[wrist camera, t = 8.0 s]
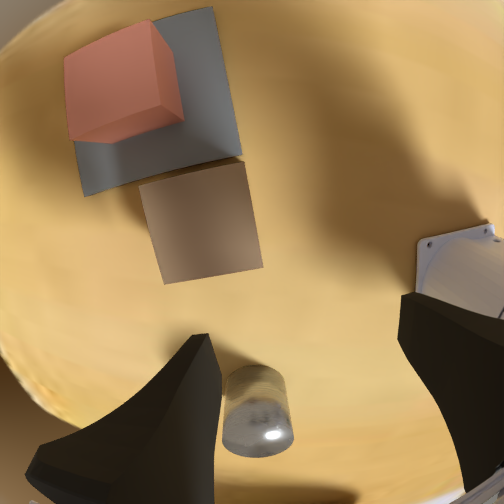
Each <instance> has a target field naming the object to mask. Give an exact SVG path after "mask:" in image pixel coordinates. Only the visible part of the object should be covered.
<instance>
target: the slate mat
mask: <svg viewBox="0 0 504 504" xmlns="http://www.w3.org/2000/svg"><path fill="white" fill-rule="evenodd" d="M152 23H153V25H154V26H155V27H156V29H157V30H158V32H159V33H160V34H161V36H162V37H163V39H164V40H165V42H166V43H167V44H168V46H169V47H170V49H171V50H172V52H173V55H174V62H175V68H176V74H177V80H178V86H179V92H180V97H181V103H182V109H183V114H184V120H185V121H183V122H180V123H176V124H172V125H169V126H165V127H162V128H159V129H155V130H152V131H149V132H146V133H142V134H139V135H136V136H133V137H130V138H128V139H125V140H122V141H119V142H116V143H114V144H108V143H97V142H86V141H74V144H75V151H76V157H77V163H78V168H79V174H80V179H81V184H82V188H83V193H84V197H87V196H90V195H93V194H96V193H98V192H101V191H104V190H107V189H111V188H114V187H117V186H120V185H123V184H126V183H130V182H133V181H136V180H140V179H143V178H147V177H150V176H154V175H157V174H161V173H165V172H169V171H172V170H176V169H180V168H184V167H188V166H193V165H197V164H201V163H206V162H210V161H215V160H219V159H224V158H229V157H234V156H239V155H242V150H241V145H240V139H239V134H238V129H237V124H236V119H235V114H234V109H233V104H232V99H231V94H230V89H229V84H228V79H227V75H226V70H225V65H224V60H223V55H222V50H221V45H220V41H219V36H218V31H217V26H216V22H215V17H214V12H213V7H212V6H211V7H206V8H202V9H197V10H193V11H189V12H185V13H181V14H177V15H174V16H170V17H167V18H163V19H160V20H157V21H154V22H152Z"/></svg>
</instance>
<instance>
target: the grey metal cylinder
mask: <svg viewBox="0 0 504 504" xmlns="http://www.w3.org/2000/svg"><path fill="white" fill-rule="evenodd" d="M293 440H294V435H293V429H292V423H291V417H290V411H289V405H288V399H287V393H286V387H285V381H284V378H283V377H282V375H281V374H280V373H279V372H278V371H276V370H275V369H273V368H270V367H267V366H261V365H252V366H246V367H243V368H240V369H238V370H236V371H234V372H233V373H232V374H231V375H230V376H229V377H228V379H227V382H226V391H225V405H224V420H223V435H222V443H223V445H224V447H225V448H226V449H227V450H229V451H230V452H232V453H234V454H237V455H240V456H244V457H252V458H260V457H268V456H272V455H276V454H278V453H281V452H283V451H284V450H286V449H287V448H289V447H290V446H291V444H292V443H293Z"/></svg>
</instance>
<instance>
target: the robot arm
mask: <svg viewBox="0 0 504 504" xmlns="http://www.w3.org/2000/svg"><path fill="white" fill-rule="evenodd" d="M494 232H495V227H494V225H493V224H491V223H489V224H485V225H480V226H476V227H472V228H468V229H463V230H459V231H455V232H450V233H446V234H441V235H437V236H433V237H428V238H423V239H421V240H420V241H419V242H418V245H417V274H416V291H415V292H412V293H409V294H405V295H401V308H400V319H399V329H398V338H397V340H398V342H399V344H400V346H401V348H402V350H403V352H404V354H405V356H406V358H407V359H408V361H409V362H410V364H411V365H412V367H413V368H414V370H415V371H416V373H417V374H418V376H419V377H420V379H421V380H422V381H423V383H424V384H425V386H426V387H427V389H428V390H429V392H430V393H431V395H432V396H433V398H434V400H435V401H436V403H437V405H438V407H439V409H440V411H441V413H442V415H443V417H444V420H445V422H446V424H447V427H448V429H449V432H450V434H451V437H452V440H453V443H454V446H455V449H456V452H457V456H458V459H459V463H460V468H461V472H462V477H463V483H464V490H465V492H466V494H465V495H463V496H461V497H460V498H458V499H456V500H455V501H453V502H451V503H449V504H483V503H484V502H486V501H487V500H489V499H490V498H491V497H493V496H494V495H495V494H497V493H498V492H499V491H500V492H499V494H498V498H497V500H496V501H495V502H494V503H493V504H504V239H502V238H500V237H497V236H495V235H494ZM428 243H429V246H428V247H427V244H428ZM221 400H222V374H221V371H220V368H219V365H218V362H217V359H216V356H215V353H214V350H213V347H212V344H211V340H210V337H209V334H208V333H206V334H198V335H192V336H191V337H190V338H189V339H188V340H187V341H186V342H185V343H184V345H183V346H182V347H181V348H180V349H179V350H178V352H177V353H176V354H175V355H174V356H173V357H172V358H171V359H170V361H169V362H168V363H167V364H166V365H165V366H164V367H163V368H162V369H161V370H160V371H159V372H158V373H157V374H156V375H155V376H154V377H153V378H152V379H151V380H150V381H149V382H148V383H147V384H146V385H145V386H144V387H143V388H142V389H141V390H140V391H139V392H137V393H136V394H135V395H134V396H133V397H131V398H130V399H129V400H128V401H126V402H125V403H124V404H122V405H121V406H120V407H118V408H117V409H115V410H114V411H112V412H111V413H109V414H108V415H106V416H104V417H103V418H101V419H100V420H98V421H96V422H95V423H93V424H91V425H89V426H87V427H85V428H83V429H81V430H79V431H77V432H75V433H73V434H70V435H68V436H65V437H63V438H60V439H57V440H54V441H52V442H49V443H46V444H42V445H40V446H39V448H38V450H37V452H36V453H35V455H34V457H33V459H32V461H31V463H30V465H29V467H28V469H27V471H26V473H25V476H26V479H27V480H28V482H29V483H30V484H31V485H32V486H33V487H35V488H36V489H37V490H38V491H40V492H41V493H42V494H43V495H45V496H46V497H47V498H49V499H50V500H51V501H53V502H54V503H56V504H214V451H215V442H216V435H217V428H218V422H219V415H220V407H221ZM29 504H39V503H37V502H35V501H33V500H32V501H30V503H29Z"/></svg>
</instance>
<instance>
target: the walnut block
mask: <svg viewBox="0 0 504 504" xmlns="http://www.w3.org/2000/svg"><path fill="white" fill-rule="evenodd" d="M139 191H140V196H141V200H142V204H143V209H144V213H145V217H146V221H147V225H148V229H149V233H150V237H151V240H152V244H153V248H154V251H155V255H156V259H157V262H158V265H159V269H160V272H161V276H162V279H163V282H164V285H165V284H171V283H177V282H183V281H189V280H195V279H201V278H207V277H213V276H219V275H224V274H230V273H236V272H242V271H247V270H253V269H259V268H263V262H262V257H261V251H260V245H259V240H258V234H257V228H256V223H255V218H254V212H253V207H252V201H251V196H250V190H249V185H248V180H247V174H246V169H245V164H244V162H239V163H234V164H229V165H224V166H219V167H214V168H209V169H205V170H200V171H196V172H191V173H187V174H183V175H178V176H174V177H170V178H166V179H162V180H158V181H155V182H151V183H147V184H144V185H140V186H139Z"/></svg>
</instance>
